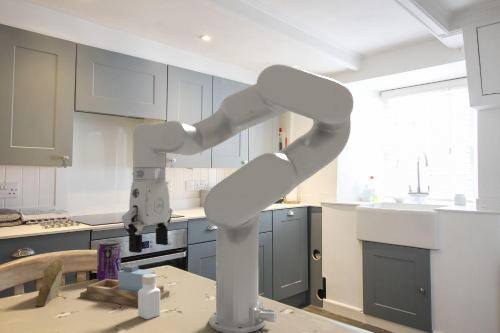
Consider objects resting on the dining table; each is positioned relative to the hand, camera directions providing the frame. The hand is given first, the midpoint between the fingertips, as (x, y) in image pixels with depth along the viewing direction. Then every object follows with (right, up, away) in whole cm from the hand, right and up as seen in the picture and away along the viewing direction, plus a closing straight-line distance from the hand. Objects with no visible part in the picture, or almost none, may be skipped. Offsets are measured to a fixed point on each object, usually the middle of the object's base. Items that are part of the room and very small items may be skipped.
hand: (149, 248), depth 86 cm
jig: (-10, -16, +13) cm, 24 cm away
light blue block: (-7, -15, +12) cm, 20 cm away
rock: (-31, -17, +11) cm, 37 cm away
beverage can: (-21, -17, +30) cm, 40 cm away
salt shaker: (0, -16, -1) cm, 16 cm away
